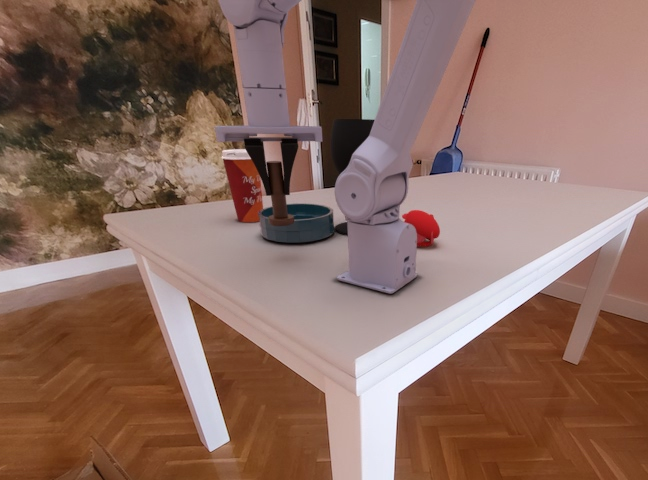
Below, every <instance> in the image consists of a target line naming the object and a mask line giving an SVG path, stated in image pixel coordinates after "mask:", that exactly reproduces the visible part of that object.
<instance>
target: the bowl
mask: <svg viewBox="0 0 648 480" xmlns="http://www.w3.org/2000/svg"><path fill="white" fill-rule="evenodd" d="M286 204H287V212H288V214H290V215H293V216H294V224H292V225H288V226H272V225H270V224H269V221H268V217H269V216H271V215H273V207H272V205H271V206H267V207H263V209H262V210H260V211H259V212H258V217H259V221H258V222H259V229H260V234H261V236H262V238H264V239H266V240H269V241H272V242H276V243H284V244H285V243H286V244H303V243H311V242H315V241H320V240H323V239H326V238H328V237H331V236H332V235H334V233H335V219H334V218H335V217H334V209H333V208H332V207H330V206H327V205H323V204H318V203H306V202H305V203H303V202H302V203H297V202H296V203H286Z"/></svg>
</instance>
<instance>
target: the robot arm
mask: <svg viewBox="0 0 648 480" xmlns="http://www.w3.org/2000/svg"><path fill="white" fill-rule="evenodd" d="M301 1H302V0H218V4H219V6H220V9H221V12H222V14H223V16H224V18H225V19H226V20H227V21H228V22H229V23H230V24H231V25H232V26H233V33H234V39H235V46H236V53H237V59H238V65H239V72H240V79H241V85H242V92H243V99H244V104H245V111H246V118H247V119H246V120H247V124H248V125H215V126H214V131H215V137H216V142H217V143H226V142H244V143H243V145H244V146H243V147H244V149H246V151H247V153H248V154H249V156H250V158H251V159H252V161H253V163H254V165H255V167H256V169H257V171H258V173H259V175H260V180H261V183H262V185H263V188H264V192H265V195H266V197H271V191H270V185H269V178H268V171H267V164H266V162H267V161H266V154H265V153H266V152H265V145H264V142H279V143H280V151H281V162H282V170H283V178H284V190H285V195H286V196H290V194H291V193H290V191H291V189H290V187H291V179H292V178H291V176H292V173H293V167H294V164H295V160H296V156H297V154H298V150H299V142H315V143H316V142H317V143H322V142H323V128H322V126H321V125H317V126H316V125H314V126H313V125H312V126H311V125H307V126H306V125H291V120H290V110H289V100H288V93H287V92H288V91H287V82H286V73H285V63H284V52H283V49H284V44H285V28H286V26H287V23H288V19H289V12H290V11H291V10H292V9H293V8H294V7H296V6H297V5H298V4H299V3H300V2H301ZM476 2H477V0H416V1H415V4H414V6H413V9H412V12H411V15H410V18H409V20H408V24H407V25H406V26H407V27H406V30H405V32H404V35H403V38H402V41H401V44H400V47H399V50H398V53H397V55H396V58H395V61H394V64H393V67H392V70H391V72H390V76H389V78H388V82H387V84H386V87H385V89H384V92H383V94H382V97H381V101H380V104H379V107H378V109H377V112H376V115H375V118H374V120H375V121H374V123H373V126H372V129H371V132H370V135H369V137H368V138H367V139H366V140H365V141H364V142H363V143H362V144H361V145H360V146H359V147H358V149H357V150H356V151H355V152H354V153H353V154H352V157H351V160H350V163H349V165H348V167H347V168H346V169H345V170H344V171H343V172H342V173H341V174H339V175H338V176H337V178H336V181H335V184H334V197H335V203H336V204H337V205H336V206H337V207H338V208H339V210H340V211H341V213H342V214H343V215H344V220H345V222H347V228H348V235H347V250H348V270H347V271H345V272H343V273H341V274H339V275H338V276H337V277H336V279H337V281H339V282H343V283H348V284H351V285H355V286H359V287H361V288H366V289H370V290H373V291H378V292H381V293H386V294H389V295H392V294H394V293H396V292H397V291H399V290H400V289H401V288H403V287H404V286H406V285H408V283H410V282H411V281H413V280H414V279H416V278H417V277H418V273H417V272H416V266H417V264H416V263H417V248H418V246H417V233H416V229H415V227H414V226H413V225H411V224H409V223H405V222H404V220H402V219H401V218H400V211H401V210H400V209H401V208H400V207H401V205H402V204H403V203H404V202H405V200H406V198H407V196H408V193H409V181H410V180H409V179H410V175H411V173H412V172H411V171H412V169H413V167H414V161H413V158H412V156H411V155H412V154H411V151H412V149H413V147H414V145H415V142H416V140H417V137H418V136H419V133H420V131H421V129H422V126H423V124H424V122H425V119H426V117H427V115H428V112H429V110H430V107H431V105H432V103H433V101H434V98H435V96H436V94H437V91H438V89H439V87H440V85H441V82H442V80H443V79H444V78H443V77H444V75H445V73H446V71H447V68H448V66H449V64H450V62H451V59H452V57H453V55H454V52H455V49H456V47H457V45H458V43H459V40H460V39H461V36H462V34H463V31H464V29H465V26H466V25H467V22H468V20H469V18H470V15H471V13H472V11H473V8H474V6H475V4H476ZM258 135H283V136H272V137H271V136H260V137H259V136H258Z"/></svg>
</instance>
